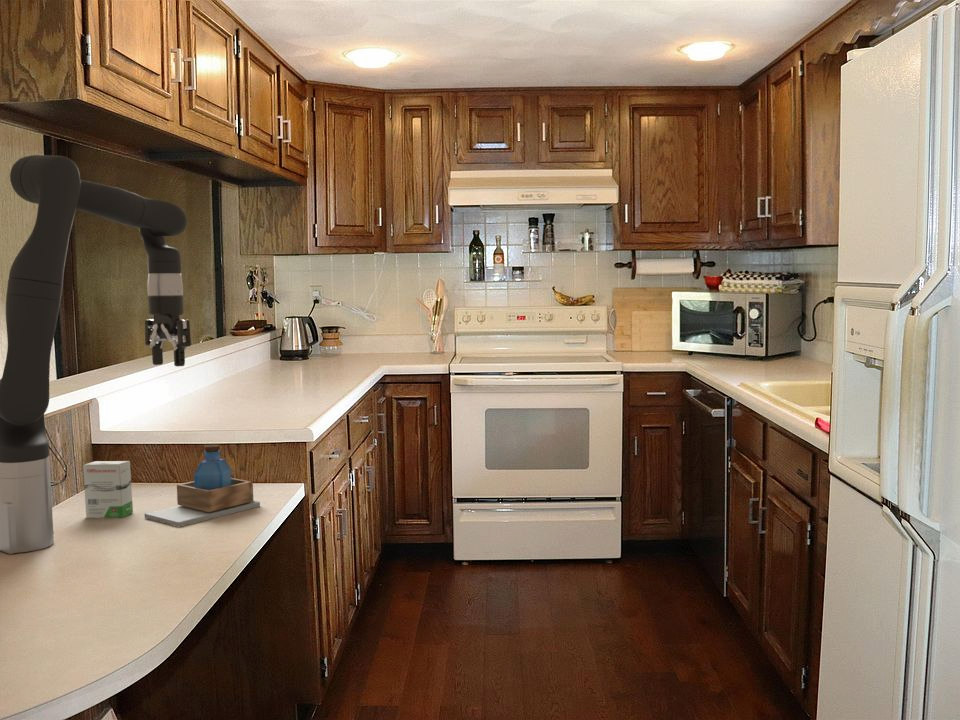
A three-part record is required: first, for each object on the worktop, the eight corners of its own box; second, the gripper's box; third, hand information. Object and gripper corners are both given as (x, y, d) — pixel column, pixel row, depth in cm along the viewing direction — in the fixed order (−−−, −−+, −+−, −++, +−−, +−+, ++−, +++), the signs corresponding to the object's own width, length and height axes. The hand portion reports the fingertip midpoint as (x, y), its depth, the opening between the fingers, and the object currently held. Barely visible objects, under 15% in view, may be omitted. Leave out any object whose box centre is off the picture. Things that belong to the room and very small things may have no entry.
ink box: (134, 512, 192) (131, 459, 191) (122, 518, 187) (120, 464, 186) (96, 512, 193) (94, 459, 192) (84, 518, 188) (81, 464, 187)
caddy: (208, 512, 186) (208, 491, 186) (177, 504, 193) (176, 484, 193) (252, 501, 195) (251, 481, 195) (220, 494, 202) (220, 475, 202)
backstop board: (178, 527, 180) (177, 503, 179) (144, 518, 187) (143, 495, 187) (259, 506, 196) (259, 484, 196) (225, 498, 204) (224, 477, 204)
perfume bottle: (222, 502, 191) (220, 448, 190) (195, 502, 191) (193, 448, 190) (231, 495, 197) (229, 443, 196) (204, 495, 197) (202, 443, 196)
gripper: (198, 293, 194) (201, 365, 196) (162, 294, 203) (165, 363, 204) (169, 293, 188) (172, 368, 190) (132, 294, 197) (135, 365, 198)
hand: (168, 365), depth 197 cm, fingers open, 8 cm apart
